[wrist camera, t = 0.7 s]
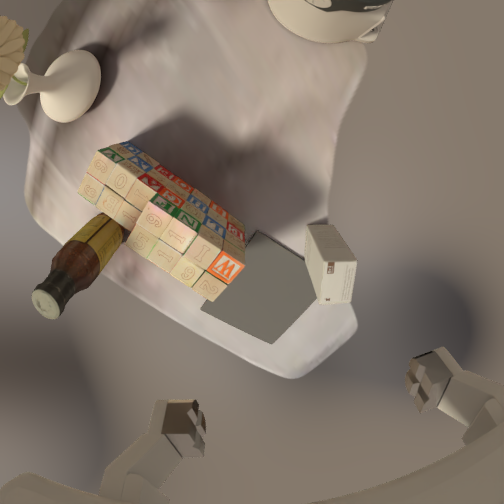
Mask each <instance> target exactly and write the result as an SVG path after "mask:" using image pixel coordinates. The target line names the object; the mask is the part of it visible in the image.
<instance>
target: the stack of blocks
mask: <svg viewBox="0 0 504 504" xmlns="http://www.w3.org/2000/svg"><path fill="white" fill-rule="evenodd" d="M78 194H80V195H81V196H82V197H84V198H85V199H87V200H88V201H89V202H91V203H92V204H94V205H95V206H96V207H97V208H98V209H100V210H101V211H102V212H104V213H105V214H106V215H108V216H109V217H111V218H112V219H114V220H115V221H116V222H117V223H119V224H120V225H122V226H123V227H125V228H126V229H128V230H129V231H131V234H130V235H129V237H128V239H127V241H126V242H125V245H126V246H128V247H129V248H131V249H132V250H134V251H135V252H137V253H138V254H140V255H141V256H143V257H144V258H146V259H148V260H149V261H151V262H152V263H154V264H155V265H157V266H159V267H160V268H161V269H163V270H164V271H166V272H168V273H169V274H170V275H171V276H173V277H174V278H176V279H178V280H179V281H181V282H182V283H184V284H185V285H187V286H189V287H191V288H192V289H193V290H194V291H196V292H197V293H199V294H200V295H202V296H203V297H205V298H207V299H208V300H210V301H212V302H213V301H214V300H215V299H216V298H217V297H218V296H219V295H220V294H221V293H222V292H223V290H224V289H225V288H226V287H227V286H228V284H229V283H231V282H232V280H233V279H234V278H235V277H236V276H237V275H238V274H239V273H240V272H241V270H242V269H243V268H244V267H245V235H244V234H245V226H244V225H243V224H242V223H241V222H239V221H238V220H237V219H235V218H234V217H233V216H231V215H230V214H229V213H228V212H227V211H225V210H224V209H223V208H221V207H220V206H219V205H217V204H216V203H215V202H213V201H212V200H210V199H209V198H208V197H207V196H205V195H204V194H202V193H201V192H200V191H198V190H197V189H195V188H192V187H191V186H190V185H189V184H187V183H186V182H184V181H183V180H182V179H180V178H179V177H177V176H175V175H174V174H173V173H171V172H170V171H168V170H167V169H166V168H164V167H163V166H161V165H160V163H158V162H157V161H156V160H154V159H153V158H151V157H150V156H149V155H147V154H146V153H144V152H142V151H141V150H140V149H138V148H137V147H135V146H134V145H133V144H131V143H130V142H128V141H126V142H122V143H119V144H114V145H111V146H109V147H106V148H103V149H100V150H97V152H96V154H95V156H94V158H93V160H92V162H91V164H90V166H89V168H88V170H87V173H86V175H85V177H84V179H83V181H82V183H81V185H80V188H79V190H78Z"/></svg>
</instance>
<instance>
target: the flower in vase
mask: <svg viewBox="0 0 504 504" xmlns="http://www.w3.org/2000/svg"><path fill="white" fill-rule="evenodd" d="M28 34H29V30H28V29H26V30H24V31H23V27H19V25H16V21H14V20H10V19H8V20H7V17H6V16H2V17H1V16H0V99H1V97H2V96H3V97H4V100H5V102H6V103H7V104H9V105H15V104H17V103H18V102H20V101H21V100H22V98H23V97H24V96H26V95H28V94H31V93H38V92H40V99H41V104H42V107H43V110H44V111H45V113H46V114H47V115H48V116H49V117H50V118H52V119H53V120H55V121H57V122H64V123H65V122H70V121H73V120H76V119H77V118H79V117H81V116H82V115H83V114H84V113H85V112H86V111H87V110H88V109H89V108H90V106H91V105H92V104H93V102H94V100H95V98H96V96H97V94H98V91H99V87H100V82H101V70H100V65H99V63H98V61H97V59H96V58H95V56H94V55H93V54H91V53H90V52H88V51H85V50H74V51H70V52H68V53H65V54H63V55H62V56H60V57H59V58H57V59H56V60H55V61H54V62H53V63H52V64H51V66H50V67H49V68H48V70H47V72H46V74H45V76H39V75H35V74H33V73H31V72H30V70H29V68H28V66H27V65H26V64H23V63H21V61H22V60H23V59H24V53H23V52H24V51H25V49H26V46H27V42H28Z"/></svg>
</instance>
